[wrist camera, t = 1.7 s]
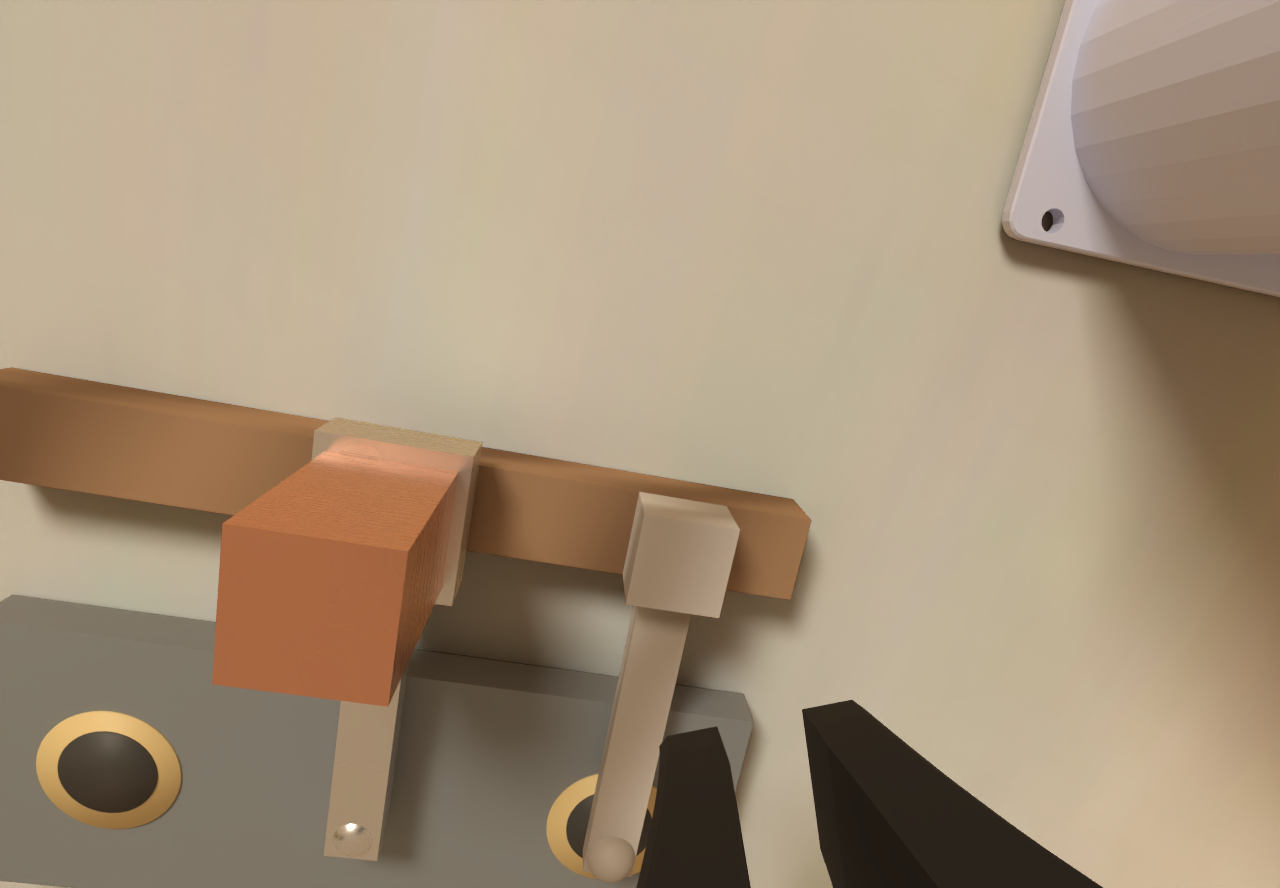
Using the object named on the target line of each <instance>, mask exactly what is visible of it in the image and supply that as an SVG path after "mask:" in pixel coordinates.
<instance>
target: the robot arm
mask: <svg viewBox="0 0 1280 888" xmlns="http://www.w3.org/2000/svg"><path fill="white" fill-rule="evenodd" d="M1047 211H1049V212H1051V214H1052V216H1053V225H1052V226H1051V228H1050V230H1049V231H1047V232H1046V231H1044V229H1043V227H1042V225H1041V223H1042V217H1043V215H1044V214H1045V212H1047ZM1002 225H1003V228H1004V231H1005V232H1006V233H1007V234H1008V236H1009V237H1012V238H1014V239H1016V240H1020V241H1024V242H1029V243H1034V244H1038V245H1043V246H1047V247H1052V248H1056V249H1061V250H1066V251H1070V252H1075V253H1079V254H1084V255H1088V256H1093V257H1097V258H1102V259H1107V260H1111V261H1116V262H1120V263H1125V264H1129V265H1134V266H1139V267H1143V268H1148V269H1152V270H1157V271H1161V272H1166V273H1171V274H1175V275H1180V276H1184V277H1189V278H1193V279H1198V280H1203V281H1207V282H1212V283H1216V284H1221V285H1225V286H1230V287H1235V288H1239V289H1244V290H1248V291H1253V292H1257V293H1262V294H1266V295H1271V296H1276V297H1280V0H1066V1H1065V4H1064V8H1063V11H1062V14H1061V18H1060V21H1059V25H1058V28H1057V31H1056V35H1055V38H1054V41H1053V45H1052V48H1051V52H1050V55H1049V58H1048V62H1047V65H1046V68H1045V72H1044V75H1043V79H1042V82H1041V85H1040V89H1039V92H1038V95H1037V99H1036V102H1035V105H1034V109H1033V112H1032V116H1031V119H1030V122H1029V126H1028V129H1027V132H1026V136H1025V139H1024V143H1023V146H1022V149H1021V153H1020V156H1019V159H1018V163H1017V166H1016V170H1015V173H1014V176H1013V180H1012V183H1011V186H1010V190H1009V193H1008V197H1007V200H1006V203H1005V207H1004V210H1003V214H1002ZM802 712H803V720H804V728H805V735H806V743H807V750H808V758H809V765H810V773H811V780H812V788H813V796H814V803H815V811H816V818H817V826H818V833H819V841H820V848H821V852H822V855H823V858H824V861H825V864H826V867H827V870H828V873H829V876H830V879H831V882H832V885H833V888H1103V887H1101V886H1100V885H1098V884H1097V883H1095V882H1094V881H1092V880H1091V879H1089V878H1088V877H1086V876H1085V875H1084V874H1082V873H1081V872H1079V871H1078V870H1076V869H1075V868H1073V867H1072V866H1070V865H1069V864H1067V863H1066V862H1064V861H1063V860H1061V859H1060V858H1058V857H1057V856H1055V855H1054V854H1052V853H1051V852H1050V851H1048V850H1047V849H1045V848H1044V847H1042V846H1041V845H1040V844H1038V843H1037V842H1035V841H1034V840H1032V839H1031V838H1030V837H1028V836H1027V835H1025V834H1024V833H1023V832H1021V831H1020V830H1018V829H1017V828H1016V827H1014V826H1013V825H1011V824H1010V823H1009V822H1007V821H1006V820H1005V819H1003V818H1002V817H1001V816H999V815H998V814H997V813H995V812H994V811H993V810H991V809H990V808H989V807H987V806H986V805H985V804H983V803H982V802H981V801H979V800H978V799H977V798H975V797H974V796H972V795H971V794H970V793H968V792H967V791H966V790H964V789H963V788H962V787H960V786H959V785H958V784H957V783H955V782H954V781H953V780H951V779H950V778H949V777H948V776H946V775H945V774H944V773H942V772H941V771H940V770H939V769H937V768H936V767H935V766H934V765H932V764H931V763H930V762H929V761H927V760H926V759H925V758H924V757H922V756H921V755H920V754H919V753H917V752H916V751H915V750H914V749H912V748H911V747H910V746H909V745H907V744H906V743H905V742H904V741H903V740H901V739H900V738H899V737H898V736H896V735H895V734H894V733H893V732H892V731H890V730H889V729H888V728H887V727H886V726H884V725H883V724H882V723H881V722H880V721H878V720H877V719H876V718H875V717H873V716H872V715H871V714H870V713H869V712H867V711H866V710H865V709H864V708H863V707H861V706H860V705H858V704H857V703H856V702H854V701H853V700H848V701H843V702H838V703H833V704H828V705H823V706H818V707H813V708H807V709H802ZM659 750H660V763H659V776H658V785H657V792H656V799H655V805H654V810H653V816H652V822H651V827H650V832H649V836H648V840H647V844H646V849H645V853H644V857H643V862H642V866H641V870H640V874H639V879H638V883H637V887H636V888H751V887H750V881H749V875H748V869H747V863H746V857H745V851H744V845H743V839H742V833H741V827H740V821H739V814H738V808H737V802H736V796H735V790H734V784H733V778H732V772H731V766H730V762H729V759H728V756H727V753H726V750H725V747H724V744H723V741H722V739H721V736H720V733H719V730H718V727H717V726H715V727H710V728H705V729H700V730H695V731H690V732H685V733H680V734H674V735H669V736H667V737H666V738H665V739H664V741H663V742H662V743H661V745H660V746H659Z"/></svg>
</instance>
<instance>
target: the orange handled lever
mask: <svg viewBox="0 0 1280 888" xmlns="http://www.w3.org/2000/svg"><path fill="white" fill-rule="evenodd" d="M482 443H483V442H478V441H472V440H466V439H460V438H455V437H449V436H443V435H437V434H431V433H425V432H419V431H413V430H407V429H401V428H396V427H390V426H384V425H378V424H372V423H366V422H360V421H354V420H348V419H342V418H334V419H333V420H331V421H329V422H328V423H326V424H324V425H323V426H321V427H319V428H318V429H316V430H314V440H313V451H312V461H310V462H309V463H308V464H306V465H305V466H303V467H302V468H300V469H299V470H298V471H296V472H295V473H293V474H292V475H291V476H289V477H288V478H286V479H285V480H283V481H282V482H281V483H279V484H278V485H276V486H275V487H274V488H272V489H271V490H269V491H268V492H266V493H265V494H264V495H262V496H261V497H259V498H258V499H257V500H255V501H254V502H252V503H251V504H249V505H248V506H247V507H245V508H244V509H242V510H241V511H239V512H238V513H237V514H235V515H234V516H232V517H231V518H230V519H228V520H227V521H225V522H224V523H222V538H221V554H220V569H219V585H218V600H217V615H216V631H215V646H214V662H213V677H212V685H220V686H228V687H236V688H244V689H252V690H260V691H268V692H276V693H284V694H292V695H299V696H307V697H315V698H323V699H331V700H339V701H341V704H340V713H339V722H338V731H337V740H336V749H335V758H334V767H333V776H332V785H331V794H330V803H329V812H328V821H327V830H326V839H325V848H324V856H332V857H342V858H352V859H362V860H371V861H377V860H378V857H379V854H380V851H381V849H382V846H383V843H384V840H385V837H386V829H387V822H388V815H389V807H390V800H391V792H392V785H393V777H394V770H395V762H396V755H397V747H398V740H399V732H400V725H401V718H402V710H403V703H404V695H405V688H406V680H407V673H408V665H409V660H410V658H411V655H412V653H413V651H414V649H415V647H416V644H417V642H418V640H419V638H420V636H421V633H422V631H423V629H424V627H425V625H426V622H427V620H428V618H429V616H430V614H431V611H432V609H433V607H434V605H435V604H439V605H446V606H452V605H453V602H454V600H455V597H456V595H457V592H458V590H459V587H460V585H461V582H462V578H463V571H464V564H465V558H466V551H467V544H468V537H469V531H470V524H471V517H472V511H473V504H474V497H475V490H476V484H477V477H478V470H479V463H480V457H481V450H482Z"/></svg>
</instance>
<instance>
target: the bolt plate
mask: <svg viewBox="0 0 1280 888" xmlns="http://www.w3.org/2000/svg"><path fill="white" fill-rule="evenodd" d="M215 631H216V622H209V621H202V620H195V619H187V618H180V617H173V616H165V615H158V614H150V613H143V612H136V611H128V610H121V609H114V608H106V607H99V606H91V605H84V604H77V603H69V602H62V601H55V600H47V599H40V598H32V597H25V596H18V595H11V596H10V597H8V598H6V599H4V600H3V601H1V602H0V881H7V882H17V883H28V884H39V885H49V886H60V887H71V888H636V887H637V883H638V879H639V874H640V870H641V866H642V862H643V857H644V853H645V849H646V844H647V840H648V836H649V832H650V827H651V822H652V816H653V810H654V805H655V799H656V792H657V785H658V776H659V763H660V754H659V758H658V762H657V767H656V771H655V775H654V780H653V784H652V788H651V793H650V797H649V801H648V806H647V810H646V814H645V819H644V823H643V828H642V832H641V836H640V841H639V845H638V849H637V854H636V858H635V862H634V867H633V871H632V875H631V877H627V876H626V877H625V878H623V879H622V880H620V881H618V882H615V883H605V882H602V881H600V880H598V879H597V878H596V877H594V876H593V874H592V873H589V872H583V846H584V841H585V836H586V832H587V827H588V822H589V817H590V813H591V808H592V803H593V798H594V793H595V789H596V784H597V779H598V774H599V770H600V765H601V760H602V755H603V750H604V746H605V741H606V736H607V731H608V726H609V722H610V717H611V712H612V707H613V703H614V698H615V693H616V688H617V683H618V679H619V677H615V676H607V675H600V674H593V673H585V672H578V671H571V670H563V669H556V668H548V667H541V666H534V665H526V664H519V663H512V662H504V661H497V660H489V659H482V658H475V657H467V656H460V655H453V654H445V653H438V652H430V651H423V650H416V649H414V651H413V653H412V655H411V658H410V660H409V665H408V673H407V680H406V688H405V695H404V703H403V710H402V718H401V725H400V732H399V740H398V747H397V755H396V762H395V770H394V777H393V785H392V792H391V800H390V807H389V815H388V822H387V829H386V837H385V840H384V843H383V846H382V849H381V851H380V854H379V857H378V860H377V861H371V860H362V859H352V858H342V857H332V856H324V848H325V839H326V830H327V821H328V812H329V803H330V794H331V785H332V776H333V767H334V758H335V749H336V740H337V731H338V722H339V713H340V704H341V701H339V700H331V699H323V698H315V697H307V696H299V695H292V694H284V693H276V692H268V691H260V690H252V689H244V688H236V687H228V686H220V685H212V677H213V662H214V646H215ZM753 722H754V721H753V719H752V716H751V713H750V710H749V708H748V705H747V702H746V699H745V696H744V694H740V693H733V692H725V691H718V690H711V689H703V688H696V687H688V686H681V685H675V688H674V693H673V697H672V701H671V706H670V710H669V714H668V719H667V723H666V727H665V732H664V736H663V741H664V739H665V738H666V737H667V736H669V735H674V734H680V733H685V732H690V731H695V730H700V729H705V728H710V727H715V726H717V727H718V730H719V733H720V736H721V739H722V741H723V744H724V747H725V750H726V753H727V756H728V759H729V762H730V766H731V772H732V778H733V784H734V790H735V791H736V788H737V784H738V780H739V776H740V772H741V768H742V765H743V761H744V757H745V753H746V749H747V745H748V742H749V738H750V734H751V730H752V726H753ZM663 741H662V742H663Z"/></svg>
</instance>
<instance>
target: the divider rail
mask: <svg viewBox="0 0 1280 888" xmlns="http://www.w3.org/2000/svg"><path fill="white" fill-rule="evenodd" d="M328 422H329V421H325V420H319V419H313V418H307V417H301V416H295V415H289V414H283V413H278V412H272V411H266V410H260V409H254V408H248V407H242V406H236V405H230V404H224V403H218V402H212V401H206V400H200V399H194V398H189V397H183V396H177V395H171V394H165V393H159V392H153V391H147V390H141V389H135V388H129V387H123V386H117V385H111V384H105V383H100V382H94V381H88V380H82V379H76V378H70V377H64V376H58V375H52V374H46V373H40V372H34V371H28V370H22V369H16V368H6V369H1V370H0V480H5V481H12V482H19V483H25V484H32V485H38V486H45V487H51V488H58V489H65V490H71V491H78V492H84V493H91V494H97V495H104V496H111V497H117V498H124V499H130V500H137V501H143V502H150V503H157V504H163V505H170V506H176V507H183V508H190V509H196V510H203V511H209V512H216V513H222V514H229V515H235V514H237V513H238V512H239V511H241V510H242V509H244V508H245V507H247V506H248V505H249V504H251V503H252V502H254V501H255V500H257V499H258V498H259V497H261V496H262V495H264V494H265V493H266V492H268V491H269V490H271V489H272V488H274V487H275V486H276V485H278V484H279V483H281V482H282V481H283V480H285V479H286V478H288V477H289V476H291V475H292V474H293V473H295V472H296V471H298V470H299V469H300V468H302V467H303V466H305V465H306V464H308V463H309V462H310V461H312V451H313V440H314V430H316V429H318V428H319V427H321V426H323V425H324V424H326V423H328ZM810 524H811V519H810V518H809V517H808V516H807V515H806V514H805V512H804V511H803V510H802V509H801V508H800V507H799V505H798V504H797V503H796V502H795V501H794V500H793V499H788V498H782V497H776V496H770V495H764V494H758V493H752V492H746V491H740V490H734V489H728V488H722V487H717V486H711V485H705V484H699V483H693V482H687V481H681V480H675V479H669V478H663V477H657V476H651V475H645V474H639V473H633V472H628V471H622V470H616V469H610V468H604V467H598V466H592V465H586V464H580V463H574V462H568V461H562V460H556V459H550V458H545V457H539V456H533V455H527V454H521V453H515V452H509V451H503V450H497V449H491V448H485V447H482V450H481V457H480V463H479V470H478V477H477V484H476V490H475V497H474V504H473V511H472V517H471V524H470V531H469V537H468V544H467V551H472V552H479V553H485V554H492V555H499V556H505V557H512V558H518V559H525V560H531V561H538V562H545V563H551V564H558V565H564V566H571V567H577V568H584V569H591V570H597V571H604V572H610V573H617V574H623V583H624V592H625V601H626V605H632V606H634V607H633V612H632V617H631V621H630V626H629V631H628V636H627V640H626V645H625V650H624V655H623V660H622V664H621V669H620V674H619V679H618V683H617V688H616V693H615V698H614V703H613V707H612V712H611V717H610V722H609V726H608V731H607V736H606V741H605V746H604V750H603V755H602V760H601V765H600V770H599V774H598V779H597V784H596V789H595V793H594V798H593V803H592V808H591V813H590V817H589V822H588V827H587V832H586V836H585V841H584V846H583V872H589V873H592V874H593V876H594V877H596V878H597V879H598V880H600V881H602V882H605V883H615V882H618V881H620V880H622V879H623V878H625V877H626V876H627V877H631V875H632V871H633V867H634V862H635V858H636V854H637V849H638V845H639V841H640V836H641V832H642V828H643V823H644V819H645V814H646V810H647V806H648V801H649V797H650V793H651V788H652V784H653V780H654V775H655V771H656V767H657V762H658V758H659V754H660V750H659V746H660V745H661V743H662V741H663V736H664V732H665V727H666V723H667V719H668V714H669V710H670V706H671V701H672V697H673V693H674V688H675V684H676V680H677V675H678V671H679V667H680V662H681V658H682V654H683V649H684V645H685V640H686V636H687V632H688V627H689V623H690V619H691V614H693V615H700V616H707V617H714V618H719V616H720V612H721V608H722V604H723V600H724V596H725V591H726V590H729V591H735V592H742V593H748V594H755V595H762V596H768V597H775V598H781V599H788V600H791V596H792V592H793V588H794V584H795V581H796V577H797V573H798V569H799V565H800V562H801V558H802V554H803V550H804V546H805V543H806V539H807V535H808V531H809V527H810Z"/></svg>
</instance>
